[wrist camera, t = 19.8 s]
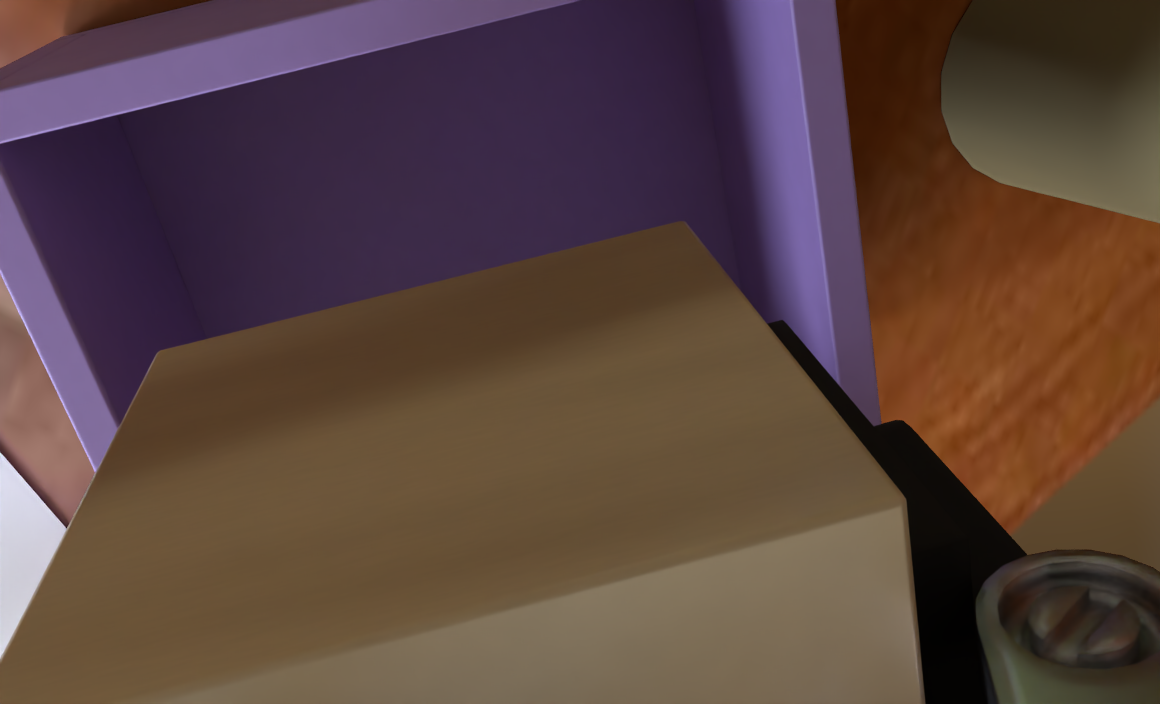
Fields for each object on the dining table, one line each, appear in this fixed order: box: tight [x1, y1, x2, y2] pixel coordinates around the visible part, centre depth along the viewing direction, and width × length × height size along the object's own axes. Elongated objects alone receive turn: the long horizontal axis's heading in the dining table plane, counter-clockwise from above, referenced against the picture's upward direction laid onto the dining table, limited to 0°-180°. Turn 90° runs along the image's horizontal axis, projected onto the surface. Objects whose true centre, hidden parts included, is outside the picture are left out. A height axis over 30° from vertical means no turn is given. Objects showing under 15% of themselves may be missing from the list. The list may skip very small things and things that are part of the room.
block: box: [0, 221, 925, 704], centre depth 9 cm, size 5×5×5 cm
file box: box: [0, 0, 881, 473], centre depth 23 cm, size 13×15×8 cm
